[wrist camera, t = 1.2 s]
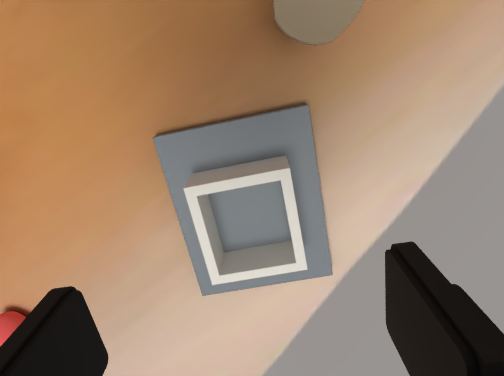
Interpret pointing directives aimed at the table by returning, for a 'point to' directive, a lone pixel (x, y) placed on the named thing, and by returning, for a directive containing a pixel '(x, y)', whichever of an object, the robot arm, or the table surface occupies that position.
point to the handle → (314, 18)
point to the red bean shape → (9, 324)
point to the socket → (248, 199)
